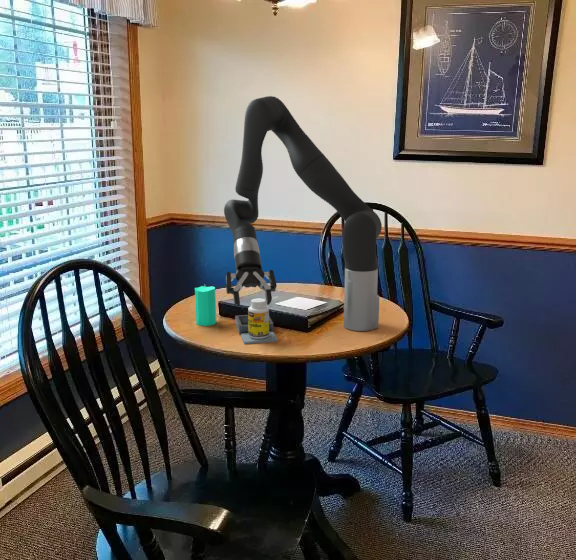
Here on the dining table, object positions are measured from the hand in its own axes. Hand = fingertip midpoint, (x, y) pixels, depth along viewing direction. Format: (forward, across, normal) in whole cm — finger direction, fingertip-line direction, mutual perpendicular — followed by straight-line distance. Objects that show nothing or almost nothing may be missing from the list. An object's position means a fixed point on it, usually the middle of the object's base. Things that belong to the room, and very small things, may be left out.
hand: (253, 304), depth 167 cm
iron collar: (+5, 0, +6) cm, 7 cm away
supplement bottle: (+11, 0, -1) cm, 11 cm away
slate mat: (+11, 0, -1) cm, 11 cm away
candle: (-1, -13, +12) cm, 17 cm away
